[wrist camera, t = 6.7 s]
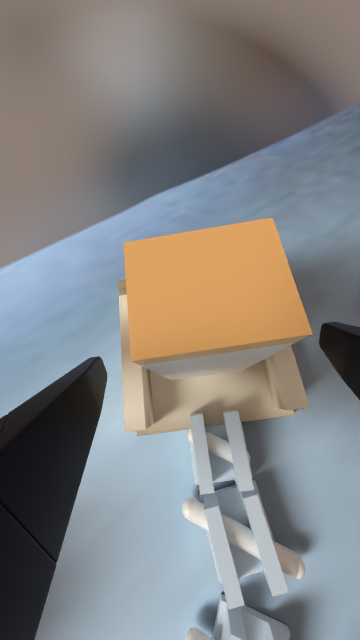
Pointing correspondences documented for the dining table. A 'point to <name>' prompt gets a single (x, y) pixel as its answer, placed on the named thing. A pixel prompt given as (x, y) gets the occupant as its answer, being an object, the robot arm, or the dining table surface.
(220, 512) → the clip
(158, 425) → the holder
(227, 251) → the orange-topped block
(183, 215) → the dining table surface
